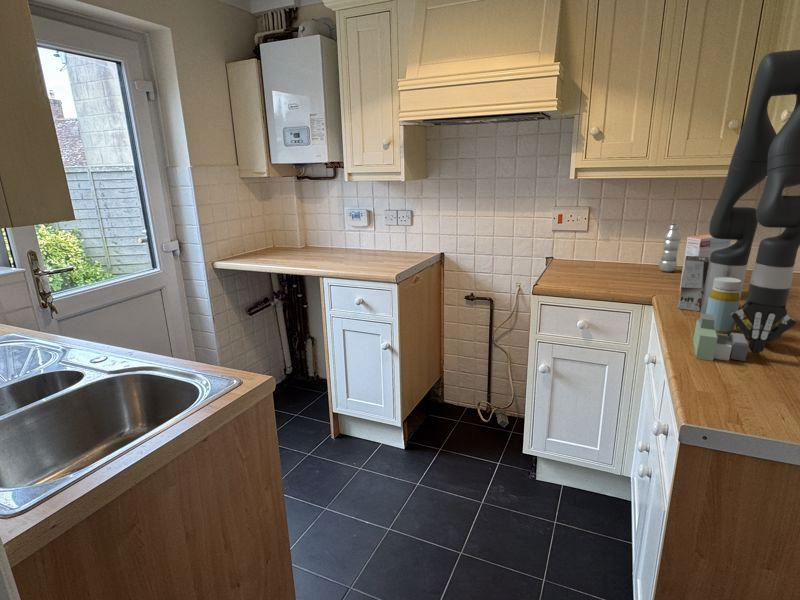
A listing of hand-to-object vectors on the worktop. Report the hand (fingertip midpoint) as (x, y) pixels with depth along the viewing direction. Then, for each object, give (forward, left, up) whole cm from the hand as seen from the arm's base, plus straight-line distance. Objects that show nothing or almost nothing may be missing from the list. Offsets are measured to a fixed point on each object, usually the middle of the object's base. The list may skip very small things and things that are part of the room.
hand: (754, 352), depth 115 cm
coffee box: (-41, -12, -2) cm, 43 cm away
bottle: (-18, -6, -2) cm, 19 cm away
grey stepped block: (0, -5, -1) cm, 6 cm away
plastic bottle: (-94, -18, -2) cm, 96 cm away
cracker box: (-60, -8, -2) cm, 60 cm away
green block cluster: (0, -8, -2) cm, 9 cm away
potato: (-12, +2, -2) cm, 12 cm away
